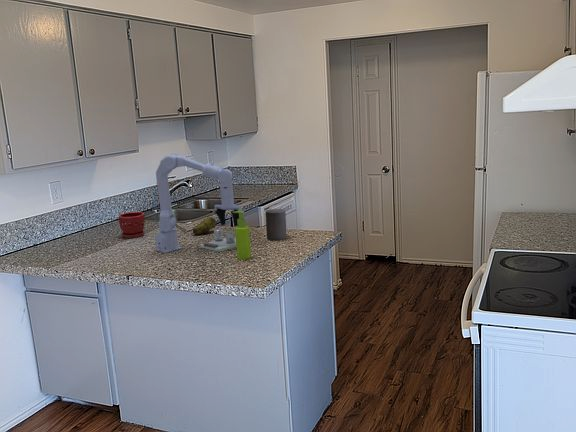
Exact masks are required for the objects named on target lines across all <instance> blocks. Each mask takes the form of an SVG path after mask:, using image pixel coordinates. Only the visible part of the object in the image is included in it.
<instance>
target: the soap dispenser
mask: <svg viewBox="0 0 576 432" xmlns="http://www.w3.org/2000/svg"><path fill="white" fill-rule="evenodd" d="M233 213H239V219H237V223H238V226H234V236H235V238H236V247H235V248H236V254H237V256H236V258H237V259H238V260H248V259H251V258H252V250H251V235H250V226H248V225H247V223H246V218H244V214H245V211H244V210H242V211H235V212H233Z"/></svg>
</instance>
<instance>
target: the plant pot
mask: <svg viewBox="0 0 576 432" xmlns="http://www.w3.org/2000/svg"><path fill="white" fill-rule="evenodd" d="M145 218H146V217H145V213H144V212H142V211H141V212H140V211H130V212H124V213H121V214H119V215H118V224H119V227H120V229H121V236H122V238H126V239H135V238H139V237H142V236H143V235H144V234H145V231H144V229H145V225H146V224H145V223H146V219H145Z"/></svg>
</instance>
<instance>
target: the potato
mask: <svg viewBox="0 0 576 432" xmlns="http://www.w3.org/2000/svg"><path fill="white" fill-rule="evenodd" d="M216 225H217V220H216V218H214V217H212V216H211V217H206V218H204V219H203V220H202V221H201V222H200V223H199V224H196V225H195V226H194V227H193V228H192V233H193V235H196V236H198V235H203V234H206V233H208V232H209V231H210V230H212V229H213V230H214V228H216V227H217V226H216Z"/></svg>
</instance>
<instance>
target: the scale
mask: <svg viewBox="0 0 576 432" xmlns="http://www.w3.org/2000/svg"><path fill="white" fill-rule="evenodd" d="M198 247H199V248H201V249H206V250H209V251H215V252H219V253H220V252H223V251H227V250H230V249H234V248H237V247H236V237H235V243H232V244H227V243H226V237H223V241H215V239H213V240H211V241H209V242H208V241H207V242H204V243H201V244H199V245H198Z"/></svg>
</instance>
